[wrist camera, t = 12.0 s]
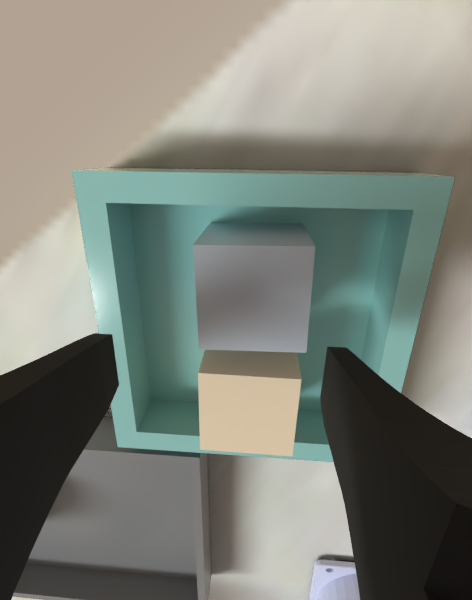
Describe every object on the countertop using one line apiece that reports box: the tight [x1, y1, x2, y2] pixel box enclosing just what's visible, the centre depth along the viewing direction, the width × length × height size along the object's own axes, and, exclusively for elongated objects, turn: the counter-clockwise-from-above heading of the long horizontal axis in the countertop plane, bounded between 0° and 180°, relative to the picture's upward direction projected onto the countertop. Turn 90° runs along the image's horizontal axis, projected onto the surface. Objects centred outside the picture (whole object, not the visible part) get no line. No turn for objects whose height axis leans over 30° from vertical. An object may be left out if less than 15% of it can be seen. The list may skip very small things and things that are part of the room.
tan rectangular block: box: [198, 350, 302, 457], centre depth 16 cm, size 4×4×4 cm
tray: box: [13, 417, 211, 600], centre depth 23 cm, size 17×15×2 cm
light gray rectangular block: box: [193, 223, 315, 353], centre depth 14 cm, size 4×4×4 cm
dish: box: [72, 167, 455, 462], centre depth 16 cm, size 13×13×3 cm
